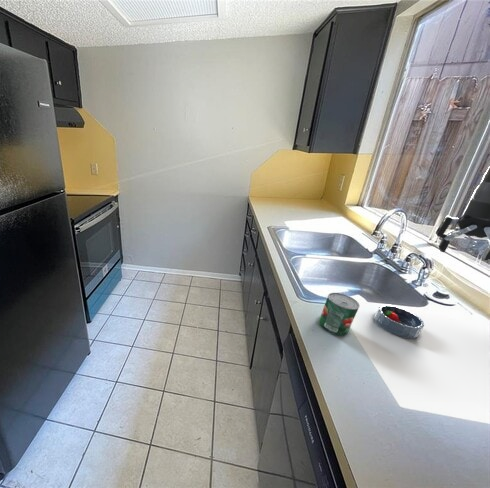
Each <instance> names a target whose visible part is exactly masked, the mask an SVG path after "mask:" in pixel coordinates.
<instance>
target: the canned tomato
mask: <svg viewBox="0 0 490 488" xmlns="http://www.w3.org/2000/svg"><path fill="white" fill-rule="evenodd" d="M359 308H360V303H359V302H358V301H357V299H355V298H353V297H352V296H350V295H348V294H344V293H341V292H330V293H328V295H327V297H326V301H325V303H324V306H323V309H322V311H321V314H320V316H319V319H318V325H319V326H320V327H321V329H323V330H324V331H325V332H327V333H330V334H332V335H333V336H338V337H341V336H342V337H343V336H346V335H347V334H348V332H349V330H350V329H351V326H352V324H353V322H354V319H355V318H356V315H357V313H358V311H359Z"/></svg>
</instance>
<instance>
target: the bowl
mask: <svg viewBox="0 0 490 488" xmlns="http://www.w3.org/2000/svg"><path fill="white" fill-rule="evenodd" d="M385 311H391V312H393V313H395V314H397V316H398V318H399V319H398V323H397V322H395V321H393V320H391V319H390V318H388V317H387V316H386V315H384V312H385ZM373 319H374V322H375V323H376V324H377V325H378V326H379V327H380V328H381V329H383V330H384V331H386V332H387V333H390V334H391V335H394V336H397V337H400V338H404V339H417V338H418V337H419V335H420V333H421V332H422V331H423V328H424V327H425V323H424V321H423V319H422V318H421V317H419V316H418V315H417V314H415V313H413V312H411V311H410V310H408V309H406V308H402V307H399V306H397V305H392V304H381V305H380V306H378V307H377V310H376V312H375V315H374V317H373Z"/></svg>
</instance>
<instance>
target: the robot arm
mask: <svg viewBox="0 0 490 488" xmlns="http://www.w3.org/2000/svg"><path fill="white" fill-rule="evenodd" d="M455 223H457V227H455V228H453V229H451V230H450V231H448V232H446V231H447V229H448V227H449V226H453V225H454V224H455ZM445 232H446V233H445ZM435 235H436V236H437V237H438V238H441V240H440V241H439V244H438V247H437V248H438V250H439V251H440V252H441V253H445V252H446V251H447V249H448V247H449V245H450V243H451V240H452V239H454V238H456V237H460V236H462V235H464V236H467V237H476V238H479V239H484V238H485V239H486V240H487V243H488V244H489V245H488V246H487V247H486V249H485V250H484V252H483V254H482V256H481V260H482V261H485V262H488V261H489V260H490V165H489V166H488V167H487V170H486V172H485V173H484V175H483V177H482V179H481V181H480V183H479V184H478V186H477V187H476V188H475V189H474V192H473V194H472V196H471V198H470V200H469V202H468V204H467V206H466V207H465V209H464V211H463V213H462V215H461V216H460V217H459V218H458V217H452V216H450V215H445V216H444V217H443V219H442V221H441V222H440V224H439V225H438V227H437V229H436V231H435Z"/></svg>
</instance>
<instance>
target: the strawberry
mask: <svg viewBox="0 0 490 488" xmlns="http://www.w3.org/2000/svg"><path fill="white" fill-rule="evenodd" d="M384 315H386V316H387V317H388V318H390V319H391V320H393V321H395V322H397V323H399V321H398V319H399V318H398V316H397V314H395V313H393V312H391V311H385V312H384Z"/></svg>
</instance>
